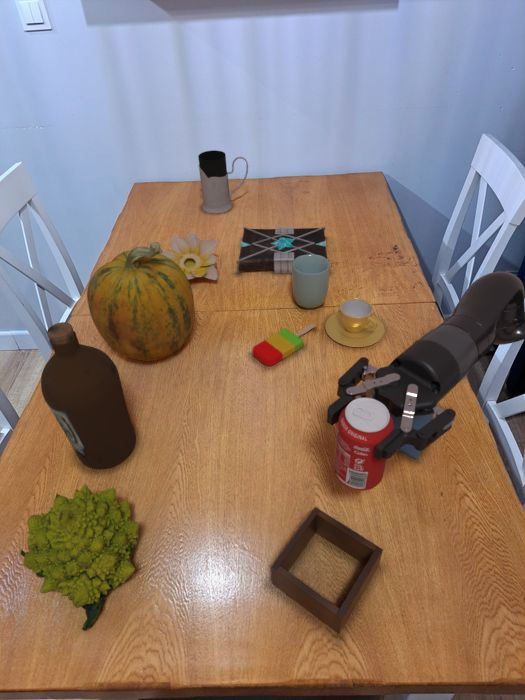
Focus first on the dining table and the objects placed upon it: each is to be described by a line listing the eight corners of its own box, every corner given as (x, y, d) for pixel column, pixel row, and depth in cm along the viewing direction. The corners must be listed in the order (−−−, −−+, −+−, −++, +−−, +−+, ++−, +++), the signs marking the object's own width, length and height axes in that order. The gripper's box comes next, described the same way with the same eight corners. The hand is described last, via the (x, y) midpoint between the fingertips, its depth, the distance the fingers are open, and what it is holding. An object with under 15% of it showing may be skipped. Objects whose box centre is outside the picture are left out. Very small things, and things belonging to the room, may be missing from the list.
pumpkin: (205, 368, 93) (187, 254, 77) (103, 386, 91) (61, 272, 74) (194, 310, 107) (177, 202, 90) (105, 324, 104) (70, 216, 88)
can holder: (378, 567, 64) (383, 549, 61) (339, 634, 58) (342, 619, 55) (313, 525, 69) (315, 506, 66) (271, 583, 63) (270, 566, 60)
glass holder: (201, 201, 147) (194, 151, 137) (247, 196, 149) (244, 146, 138) (203, 215, 141) (197, 163, 130) (252, 209, 142) (249, 157, 132)
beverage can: (390, 467, 64) (404, 407, 56) (369, 503, 60) (381, 445, 52) (347, 446, 67) (354, 385, 59) (324, 479, 63) (329, 420, 55)
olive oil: (123, 411, 86) (82, 295, 69) (151, 449, 80) (114, 332, 63) (64, 441, 81) (6, 326, 65) (89, 485, 75) (31, 369, 58)
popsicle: (250, 354, 96) (249, 347, 94) (305, 322, 103) (305, 314, 101) (268, 369, 93) (268, 362, 91) (324, 334, 100) (324, 327, 98)
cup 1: (291, 292, 111) (292, 254, 104) (326, 292, 110) (328, 253, 103) (292, 313, 105) (292, 274, 98) (328, 313, 104) (331, 274, 98)
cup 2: (313, 330, 100) (314, 309, 97) (348, 304, 107) (351, 283, 103) (360, 357, 94) (363, 335, 90) (396, 327, 100) (400, 306, 96)
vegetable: (97, 654, 54) (32, 544, 51) (39, 621, 65) (-18, 528, 62) (188, 559, 65) (140, 463, 61) (126, 544, 75) (81, 461, 72)
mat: (445, 412, 83) (446, 410, 83) (416, 460, 76) (416, 458, 76) (371, 378, 90) (372, 376, 89) (338, 419, 83) (338, 418, 83)
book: (237, 274, 117) (236, 256, 114) (243, 239, 129) (241, 221, 126) (328, 273, 116) (329, 255, 112) (325, 238, 128) (326, 220, 125)
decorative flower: (150, 287, 111) (147, 244, 106) (159, 271, 121) (156, 231, 116) (217, 289, 111) (216, 246, 107) (219, 272, 121) (219, 232, 117)
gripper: (478, 412, 62) (400, 494, 54) (385, 358, 70) (305, 422, 62) (494, 371, 57) (411, 454, 49) (393, 317, 65) (306, 381, 57)
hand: (352, 436), depth 56 cm, fingers closed on beverage can, 6 cm apart
